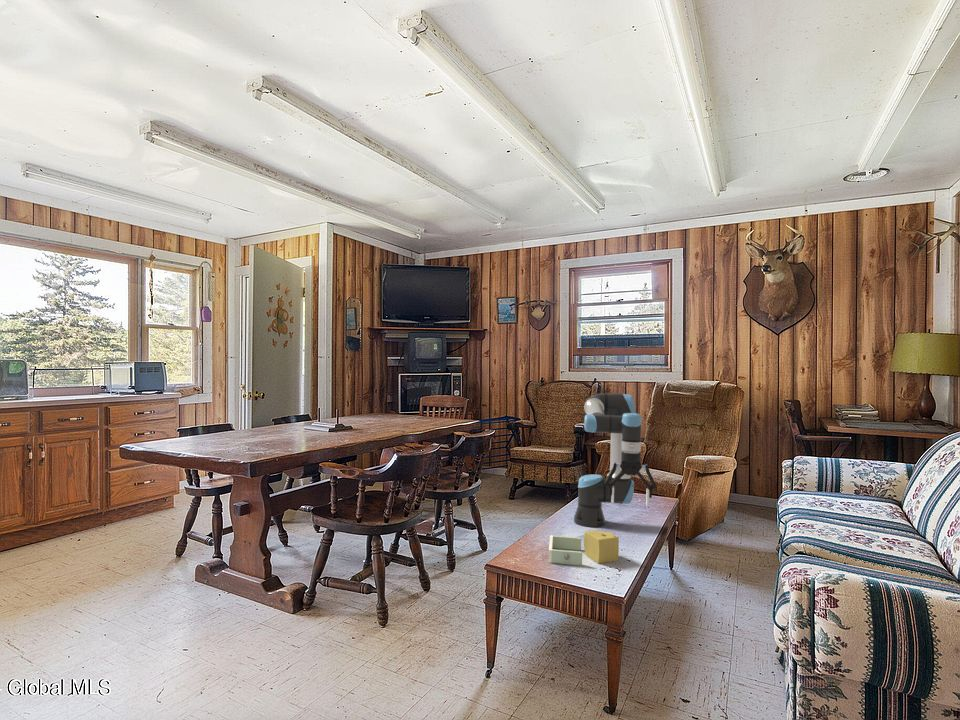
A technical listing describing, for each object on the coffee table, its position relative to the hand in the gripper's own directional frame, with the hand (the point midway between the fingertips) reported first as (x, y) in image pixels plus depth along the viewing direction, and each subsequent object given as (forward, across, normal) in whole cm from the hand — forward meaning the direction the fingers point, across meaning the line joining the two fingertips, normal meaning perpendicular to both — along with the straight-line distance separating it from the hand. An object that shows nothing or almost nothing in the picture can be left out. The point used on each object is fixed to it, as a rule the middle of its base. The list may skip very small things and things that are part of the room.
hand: (629, 504), depth 207 cm
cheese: (+24, -11, +2) cm, 26 cm away
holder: (+23, -25, +1) cm, 34 cm away
